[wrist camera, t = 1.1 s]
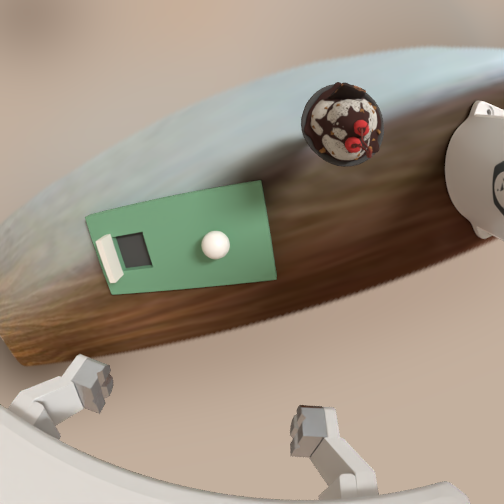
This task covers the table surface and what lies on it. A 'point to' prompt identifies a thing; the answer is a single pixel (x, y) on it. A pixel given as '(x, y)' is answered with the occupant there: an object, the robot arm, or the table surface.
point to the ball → (215, 245)
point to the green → (185, 240)
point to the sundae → (343, 124)
